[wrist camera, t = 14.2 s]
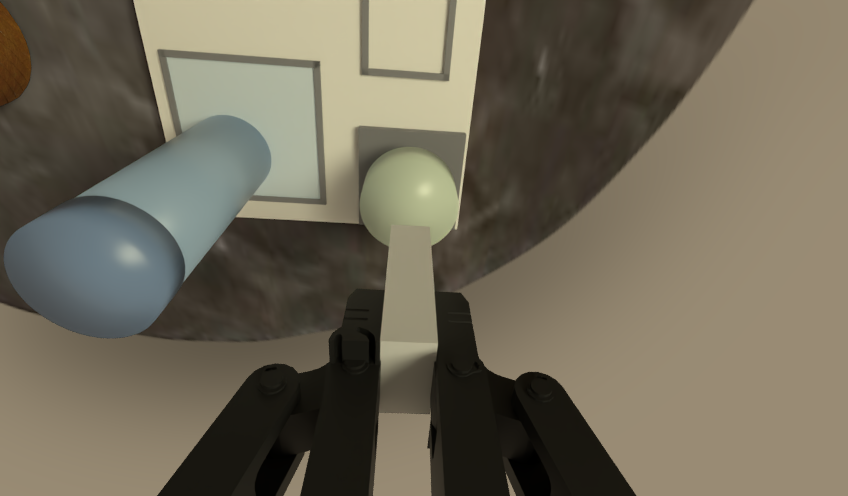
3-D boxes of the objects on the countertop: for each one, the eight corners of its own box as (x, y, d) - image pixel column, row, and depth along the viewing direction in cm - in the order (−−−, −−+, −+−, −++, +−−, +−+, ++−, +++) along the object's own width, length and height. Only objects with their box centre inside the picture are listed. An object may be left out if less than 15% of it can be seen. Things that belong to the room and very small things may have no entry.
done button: (363, 143, 21) (359, 156, 20) (460, 150, 22) (464, 163, 20) (363, 229, 24) (359, 248, 22) (450, 234, 24) (453, 252, 22)
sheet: (123, -86, 19) (105, -91, 18) (489, -53, 20) (494, -56, 18) (188, 208, 26) (178, 217, 25) (455, 222, 27) (457, 233, 25)
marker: (182, 110, 22) (-23, 214, 12) (268, 116, 22) (141, 224, 12) (197, 189, 24) (36, 335, 14) (276, 194, 24) (175, 340, 14)
